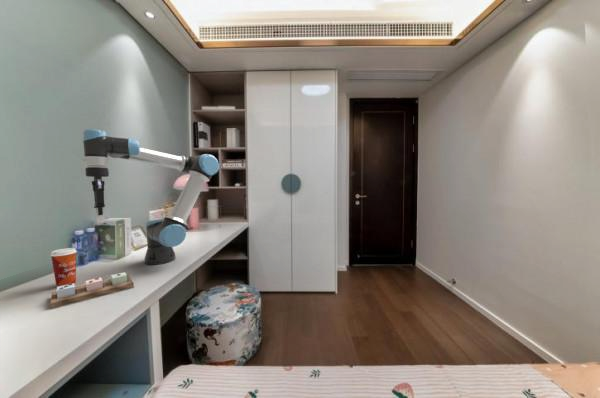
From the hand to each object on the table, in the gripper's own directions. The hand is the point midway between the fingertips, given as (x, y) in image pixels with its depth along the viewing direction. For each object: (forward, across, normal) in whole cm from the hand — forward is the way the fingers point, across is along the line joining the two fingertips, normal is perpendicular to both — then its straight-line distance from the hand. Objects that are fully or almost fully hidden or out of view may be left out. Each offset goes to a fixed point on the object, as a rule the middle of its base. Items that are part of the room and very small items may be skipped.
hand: (100, 222), depth 105 cm
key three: (+25, +10, -12) cm, 29 cm away
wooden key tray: (+26, +10, -4) cm, 28 cm away
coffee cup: (+27, -9, -12) cm, 31 cm away
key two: (+25, +10, -4) cm, 27 cm away
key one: (+25, +10, +4) cm, 27 cm away
